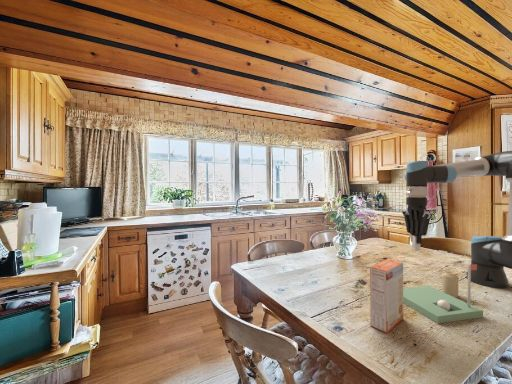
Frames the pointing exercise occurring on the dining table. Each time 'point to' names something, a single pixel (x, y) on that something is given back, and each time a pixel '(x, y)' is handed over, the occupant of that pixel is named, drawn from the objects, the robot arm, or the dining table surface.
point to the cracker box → (386, 294)
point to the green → (428, 297)
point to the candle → (450, 284)
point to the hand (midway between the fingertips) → (416, 250)
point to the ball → (443, 305)
